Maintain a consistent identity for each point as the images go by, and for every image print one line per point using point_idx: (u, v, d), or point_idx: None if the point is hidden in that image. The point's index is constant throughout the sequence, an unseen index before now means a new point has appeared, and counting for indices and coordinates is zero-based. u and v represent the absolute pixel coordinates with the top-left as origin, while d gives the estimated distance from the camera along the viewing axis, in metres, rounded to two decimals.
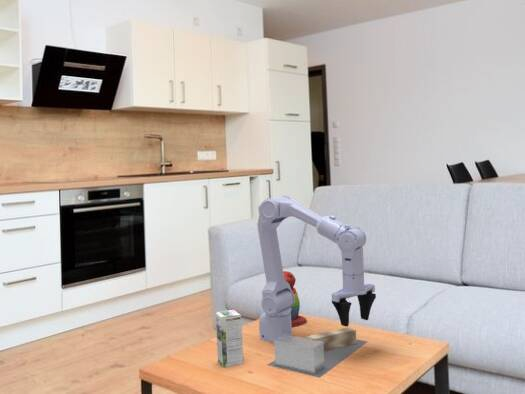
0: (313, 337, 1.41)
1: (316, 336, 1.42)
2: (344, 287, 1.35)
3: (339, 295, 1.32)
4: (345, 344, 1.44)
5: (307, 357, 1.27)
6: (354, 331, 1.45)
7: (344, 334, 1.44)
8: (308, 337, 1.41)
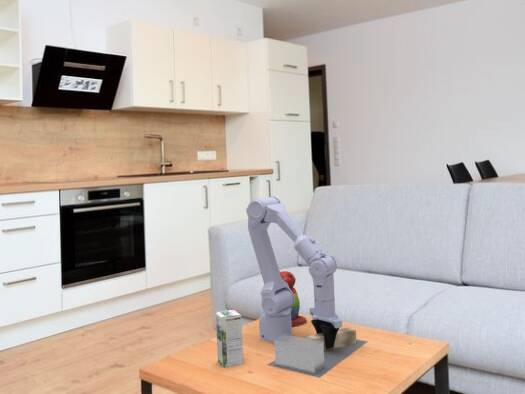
0: (313, 337, 1.41)
1: (316, 336, 1.42)
2: None
3: (311, 310, 1.48)
4: (345, 344, 1.44)
5: (307, 357, 1.27)
6: (354, 331, 1.45)
7: (344, 334, 1.44)
8: (308, 337, 1.41)
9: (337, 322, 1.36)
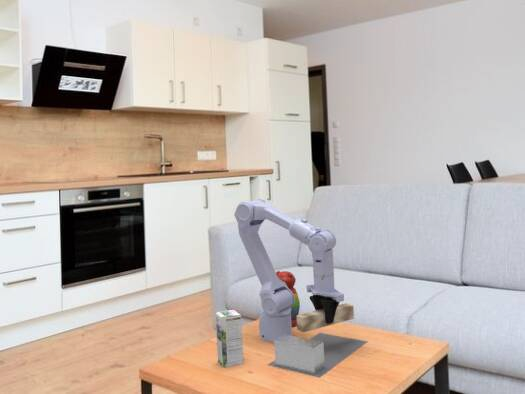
0: (314, 313, 1.40)
1: (316, 312, 1.41)
2: None
3: (308, 287, 1.47)
4: (343, 319, 1.44)
5: (307, 357, 1.27)
6: (352, 306, 1.46)
7: (342, 309, 1.44)
8: (309, 313, 1.40)
9: (339, 296, 1.36)
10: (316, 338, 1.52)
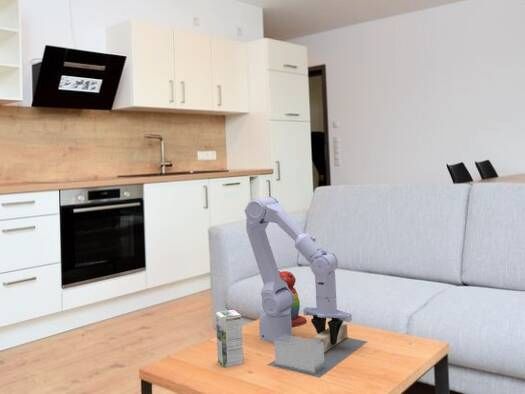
0: (321, 336, 1.40)
1: (322, 335, 1.41)
2: None
3: (306, 310, 1.46)
4: (341, 339, 1.47)
5: (307, 357, 1.27)
6: (346, 325, 1.50)
7: (340, 328, 1.47)
8: (317, 337, 1.40)
9: (349, 316, 1.39)
10: None
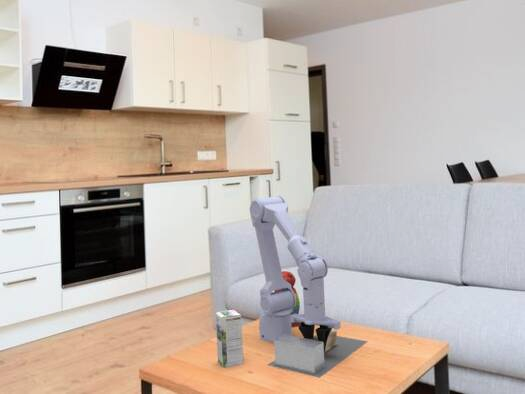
0: None
1: None
2: None
3: (293, 316, 1.41)
4: (330, 346, 1.42)
5: (307, 357, 1.27)
6: (335, 332, 1.44)
7: (329, 336, 1.42)
8: None
9: (337, 323, 1.33)
10: None
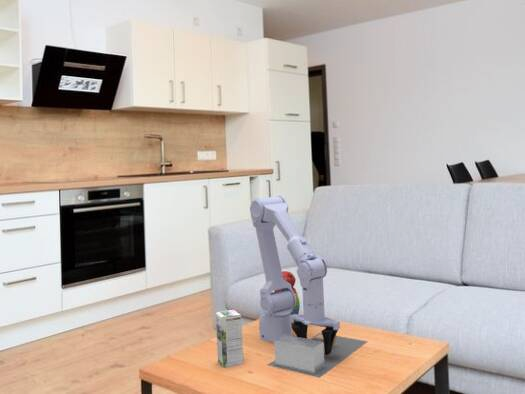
0: None
1: None
2: None
3: (292, 317, 1.41)
4: None
5: (307, 357, 1.27)
6: None
7: None
8: None
9: (337, 323, 1.33)
10: None
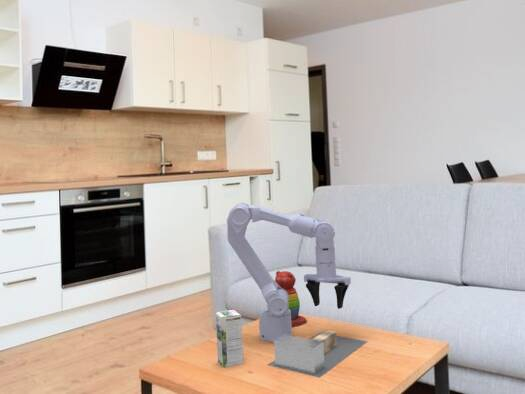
0: None
1: None
2: None
3: (306, 276, 1.53)
4: (330, 348, 1.42)
5: (307, 357, 1.27)
6: (335, 333, 1.44)
7: (329, 337, 1.41)
8: None
9: (348, 279, 1.46)
10: None
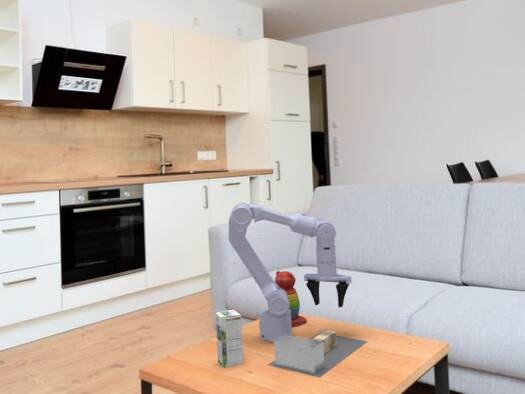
0: None
1: None
2: None
3: (306, 276, 1.54)
4: (330, 348, 1.42)
5: (307, 357, 1.27)
6: (335, 333, 1.44)
7: (329, 337, 1.41)
8: None
9: (349, 278, 1.48)
10: None
